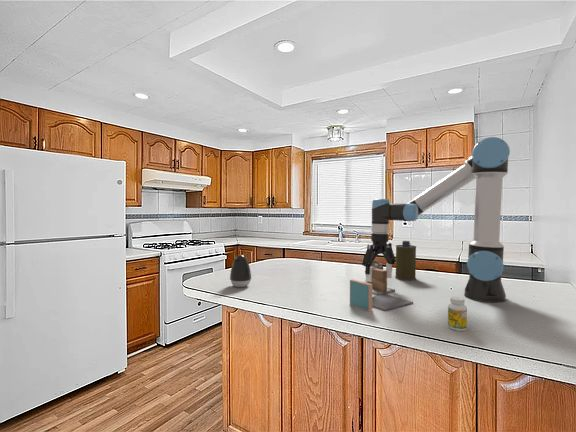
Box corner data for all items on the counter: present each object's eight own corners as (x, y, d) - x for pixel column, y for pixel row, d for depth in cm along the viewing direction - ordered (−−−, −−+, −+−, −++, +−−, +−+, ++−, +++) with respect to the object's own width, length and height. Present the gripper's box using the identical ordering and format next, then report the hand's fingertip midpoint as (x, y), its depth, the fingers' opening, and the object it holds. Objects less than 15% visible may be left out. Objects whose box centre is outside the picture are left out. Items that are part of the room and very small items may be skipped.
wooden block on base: (381, 287, 157) (381, 267, 157) (395, 291, 151) (395, 269, 150) (363, 291, 151) (363, 269, 150) (377, 295, 144) (377, 273, 144)
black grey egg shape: (225, 287, 157) (225, 255, 156) (237, 282, 166) (236, 252, 166) (244, 289, 153) (244, 257, 152) (255, 284, 163) (254, 254, 162)
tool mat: (413, 303, 132) (413, 301, 132) (385, 311, 123) (385, 309, 123) (384, 295, 144) (384, 294, 144) (357, 301, 134) (357, 300, 134)
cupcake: (368, 277, 179) (369, 259, 179) (386, 280, 173) (386, 261, 173) (361, 280, 171) (361, 261, 171) (379, 283, 166) (380, 263, 165)
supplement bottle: (470, 329, 105) (471, 299, 104) (458, 332, 102) (459, 301, 102) (455, 324, 109) (456, 295, 109) (444, 326, 107) (444, 297, 107)
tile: (372, 310, 123) (372, 284, 123) (369, 311, 122) (369, 284, 122) (352, 304, 131) (352, 279, 131) (349, 305, 130) (349, 279, 130)
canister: (413, 281, 170) (414, 242, 169) (393, 278, 176) (393, 241, 175) (417, 277, 179) (418, 240, 179) (398, 275, 185) (398, 239, 184)
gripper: (390, 231, 160) (390, 274, 161) (354, 233, 146) (353, 281, 147) (404, 232, 154) (403, 277, 155) (367, 235, 140) (366, 284, 140)
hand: (379, 279), depth 151 cm, fingers open, 13 cm apart
